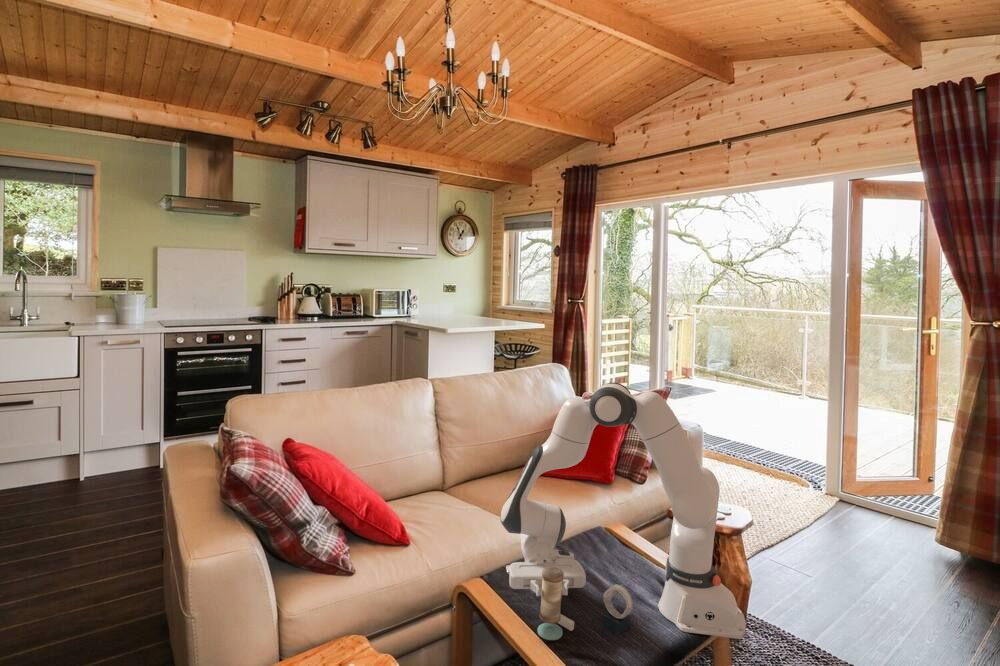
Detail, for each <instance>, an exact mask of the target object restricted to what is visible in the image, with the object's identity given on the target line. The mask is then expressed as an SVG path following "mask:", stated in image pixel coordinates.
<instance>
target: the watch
mask: <svg viewBox="0 0 1000 666" xmlns="http://www.w3.org/2000/svg"><path fill="white" fill-rule="evenodd" d="M618 593H619V594H621V596H623V598H624V601H625V603H626V607H625V609H624V611H623V610H622V609H620V608H619V607H617V608H615V607H614V604H613V601H612V599H613V598H614V597H615V596H616V595H617V594H618ZM602 597H603V602H604V606H605V608H606V610H607V611H608V612H607V613H604V615H603V623H602V627H603V628H605V629H607V630H608V631H610V632H611V633H613V634H614V635H616V636H617V635H619V634H620V633H622V632H623V631H625V630H627V629H628V628H630V627H631V626H630V625H631V615H630V614H631V612H632V611H633V606H634V605H633V599H632V596H631V594H630V592H629V590H628V589H627V588H625V587H624V586H622V584H617V583H616V584H613V585H612V586H610V587H609V588H608V589H607V590H605V591H604V592H603V594H602Z"/></svg>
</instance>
